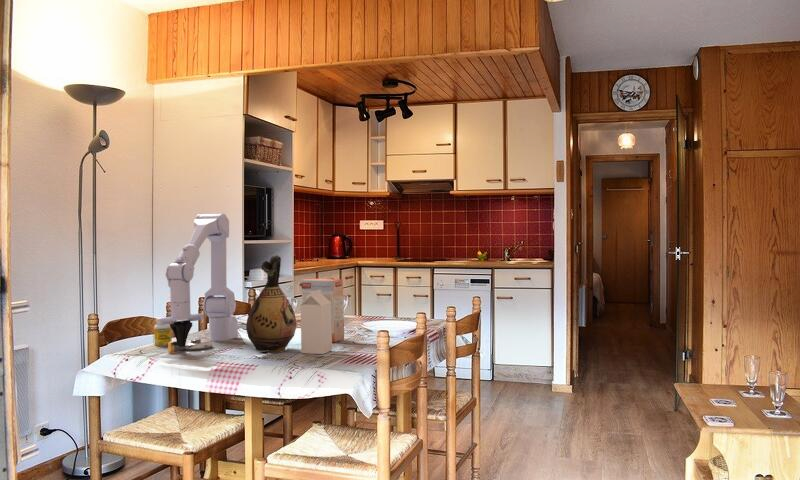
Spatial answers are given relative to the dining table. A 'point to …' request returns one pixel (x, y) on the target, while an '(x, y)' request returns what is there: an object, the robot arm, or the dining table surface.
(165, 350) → the board
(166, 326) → the supplement bottle
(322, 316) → the milk carton
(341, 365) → the dining table surface
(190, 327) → the robot arm
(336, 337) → the cracker box
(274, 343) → the ceramic jug
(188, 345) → the dial
